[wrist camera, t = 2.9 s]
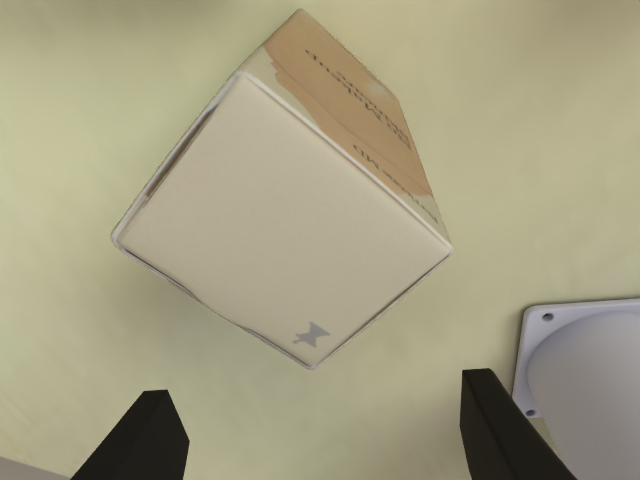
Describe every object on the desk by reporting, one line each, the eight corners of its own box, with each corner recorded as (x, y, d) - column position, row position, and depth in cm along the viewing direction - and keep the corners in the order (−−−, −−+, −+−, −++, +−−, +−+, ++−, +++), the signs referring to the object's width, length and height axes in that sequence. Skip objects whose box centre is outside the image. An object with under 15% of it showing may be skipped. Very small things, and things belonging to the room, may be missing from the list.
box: (401, 100, 18) (475, 264, 8) (326, 177, 20) (318, 385, 10) (294, -2, 16) (235, 59, 7) (223, 94, 18) (97, 249, 8)
